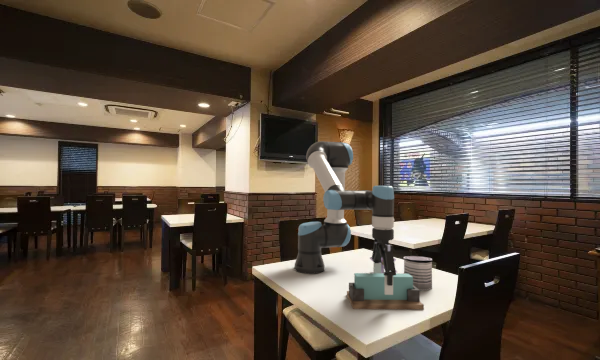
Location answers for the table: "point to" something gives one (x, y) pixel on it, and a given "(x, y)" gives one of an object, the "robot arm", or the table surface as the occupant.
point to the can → (419, 271)
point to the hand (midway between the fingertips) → (382, 286)
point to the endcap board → (359, 303)
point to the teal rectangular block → (382, 286)
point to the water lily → (383, 265)
